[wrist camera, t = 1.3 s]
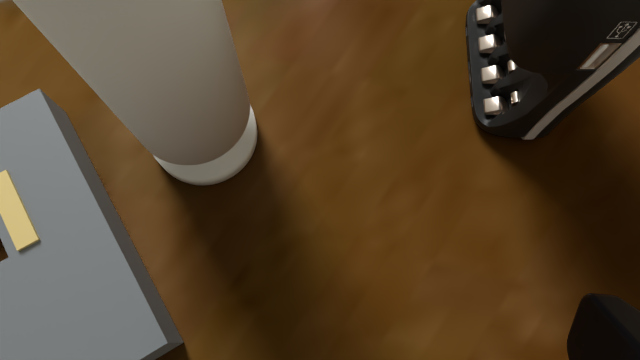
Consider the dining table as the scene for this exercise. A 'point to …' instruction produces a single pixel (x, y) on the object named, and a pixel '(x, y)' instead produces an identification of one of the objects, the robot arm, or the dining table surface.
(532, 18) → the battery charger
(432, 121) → the dining table surface
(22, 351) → the keyhole plate
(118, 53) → the footed peg
